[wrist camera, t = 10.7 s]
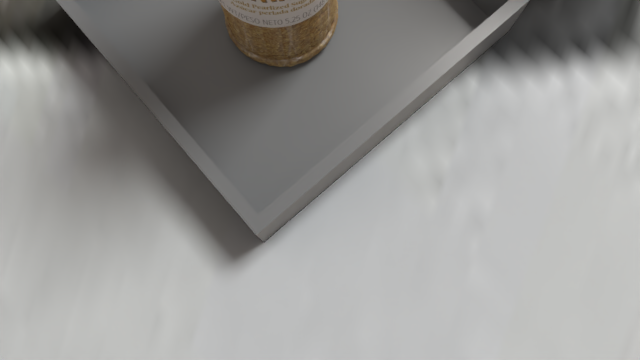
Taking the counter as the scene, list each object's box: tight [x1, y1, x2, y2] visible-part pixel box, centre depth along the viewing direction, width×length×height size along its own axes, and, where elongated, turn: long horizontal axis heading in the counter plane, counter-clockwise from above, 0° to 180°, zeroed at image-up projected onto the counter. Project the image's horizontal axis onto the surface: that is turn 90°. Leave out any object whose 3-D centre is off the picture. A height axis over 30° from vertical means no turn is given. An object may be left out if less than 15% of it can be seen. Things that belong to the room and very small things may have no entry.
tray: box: [56, 0, 530, 242], centre depth 22 cm, size 13×13×2 cm
